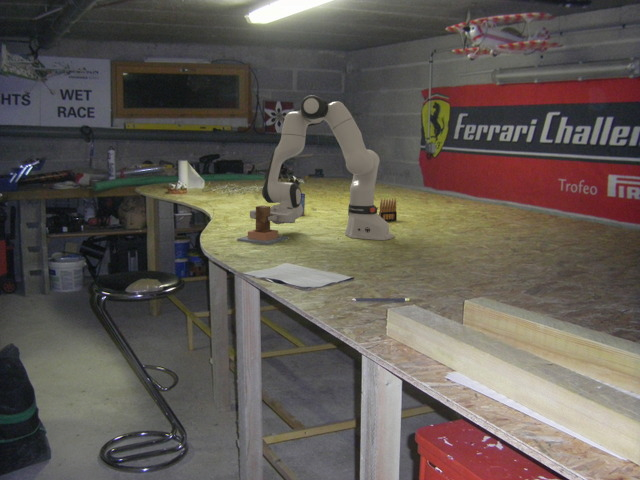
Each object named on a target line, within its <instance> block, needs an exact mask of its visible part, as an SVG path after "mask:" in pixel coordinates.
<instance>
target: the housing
mask: <svg viewBox="0 0 640 480" xmlns="http://www.w3.org/2000/svg"><path fill="white" fill-rule="evenodd" d="M286 240H289V237H288V236H284V235H279V230H276V229H270V232H267V233H262V232H256V228H255V229H251V230H249V231H247V236H246V235H245V236H241V237H238V238H237V239H236V241H237V242H241V243H243V242H244V243H248V244H258V245H265V246H271V245H273V244H276V243H281V242H284V241H286Z"/></svg>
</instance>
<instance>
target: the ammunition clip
mask: <svg viewBox="0 0 640 480" xmlns="http://www.w3.org/2000/svg"><path fill="white" fill-rule="evenodd" d="M378 215H379V216H380V217H381V218H383V219H384V220H385V221H386V222H387V223H388V222H397V219H398V218H397V215H398V214H397V199H396V198H389V199H388V198H386V199H385V198H384V199H380V204H379V212H378Z"/></svg>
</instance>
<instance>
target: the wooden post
mask: <svg viewBox="0 0 640 480" xmlns="http://www.w3.org/2000/svg"><path fill="white" fill-rule="evenodd" d="M270 208H271V206H269V205H257V206H255V210H256V219H255V229H256V232H262V233H267V232H270V230H271V221H267V220H266V217H267V216H270Z"/></svg>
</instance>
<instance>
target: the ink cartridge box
mask: <svg viewBox="0 0 640 480" xmlns="http://www.w3.org/2000/svg"><path fill="white" fill-rule="evenodd" d="M305 203H306V193H304V192H302V200H301V205H302V207H303V212H302V215H301V216H302V217H303V216H305ZM301 216H300V217H301Z"/></svg>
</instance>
